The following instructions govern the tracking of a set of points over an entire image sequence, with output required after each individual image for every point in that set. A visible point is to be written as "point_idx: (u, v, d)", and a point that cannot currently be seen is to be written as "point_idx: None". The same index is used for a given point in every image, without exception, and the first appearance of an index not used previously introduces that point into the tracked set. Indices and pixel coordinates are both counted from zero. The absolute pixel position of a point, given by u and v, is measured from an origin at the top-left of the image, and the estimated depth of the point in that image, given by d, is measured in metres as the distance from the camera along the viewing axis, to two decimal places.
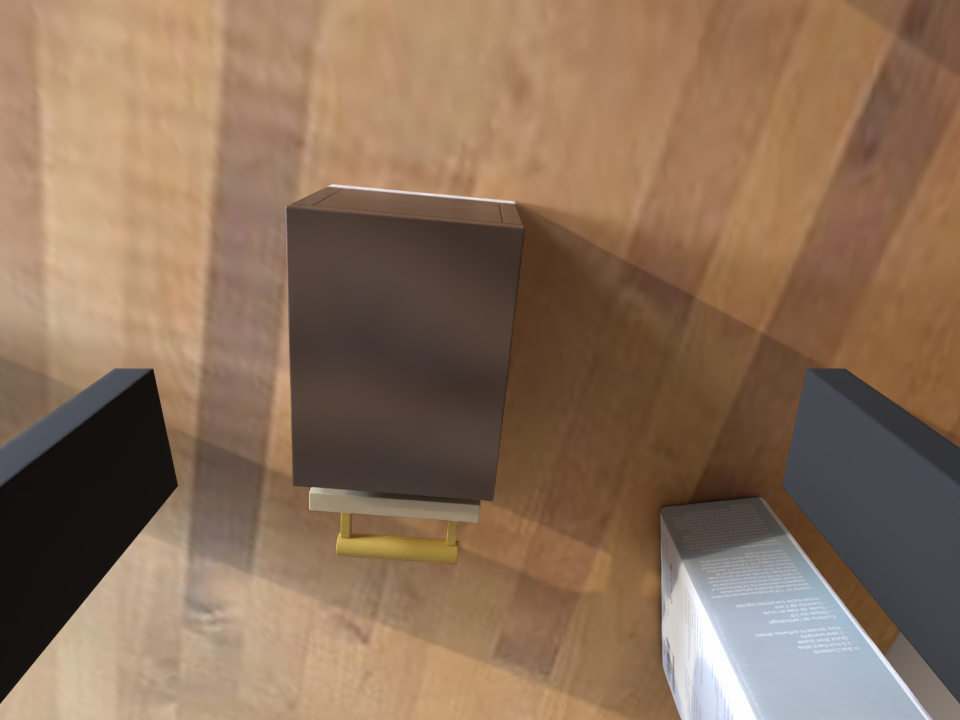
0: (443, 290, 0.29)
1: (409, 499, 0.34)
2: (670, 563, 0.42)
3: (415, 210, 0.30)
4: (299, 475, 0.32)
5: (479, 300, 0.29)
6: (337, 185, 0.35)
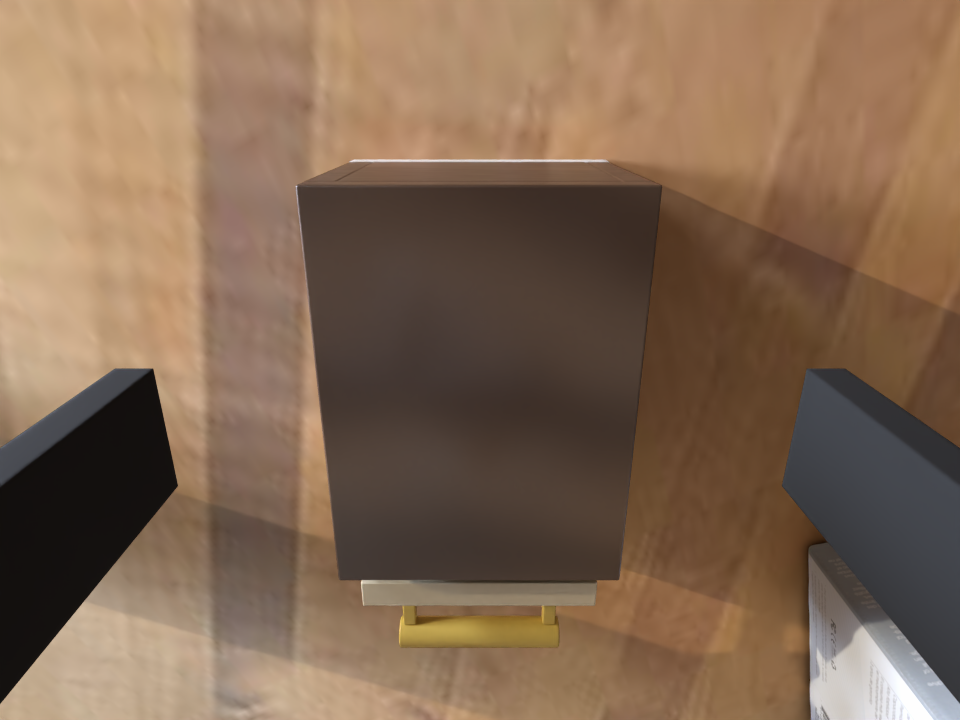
0: (539, 291, 0.19)
1: (499, 581, 0.25)
2: (832, 620, 0.32)
3: (485, 176, 0.20)
4: (346, 566, 0.23)
5: (594, 301, 0.19)
6: (362, 160, 0.26)
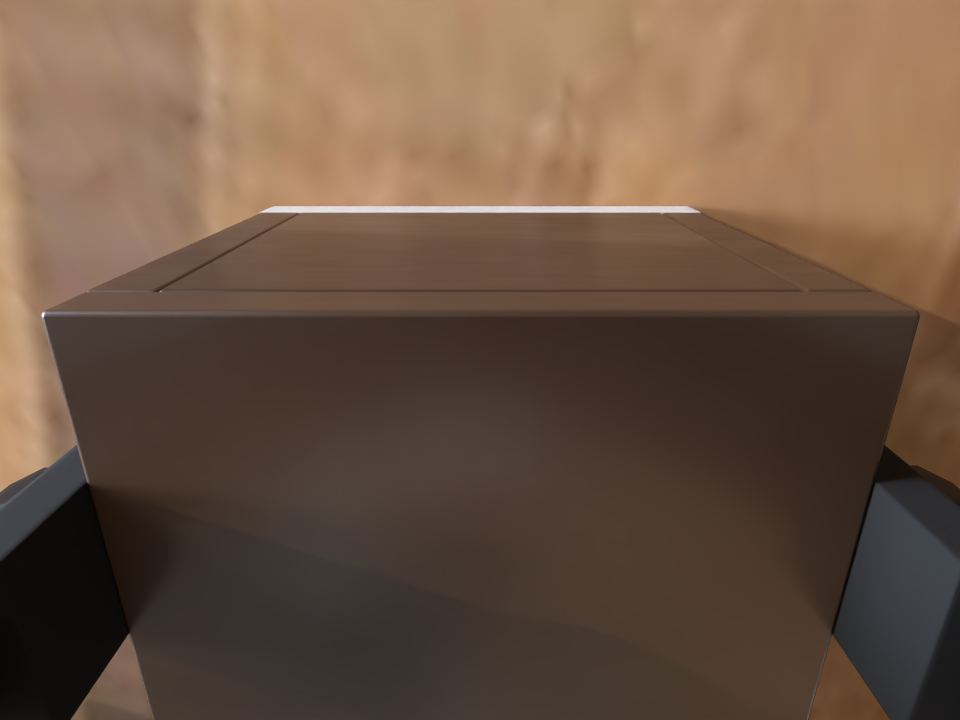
0: (615, 530, 0.09)
1: None
2: None
3: (494, 267, 0.10)
4: None
5: (735, 550, 0.09)
6: (286, 207, 0.16)
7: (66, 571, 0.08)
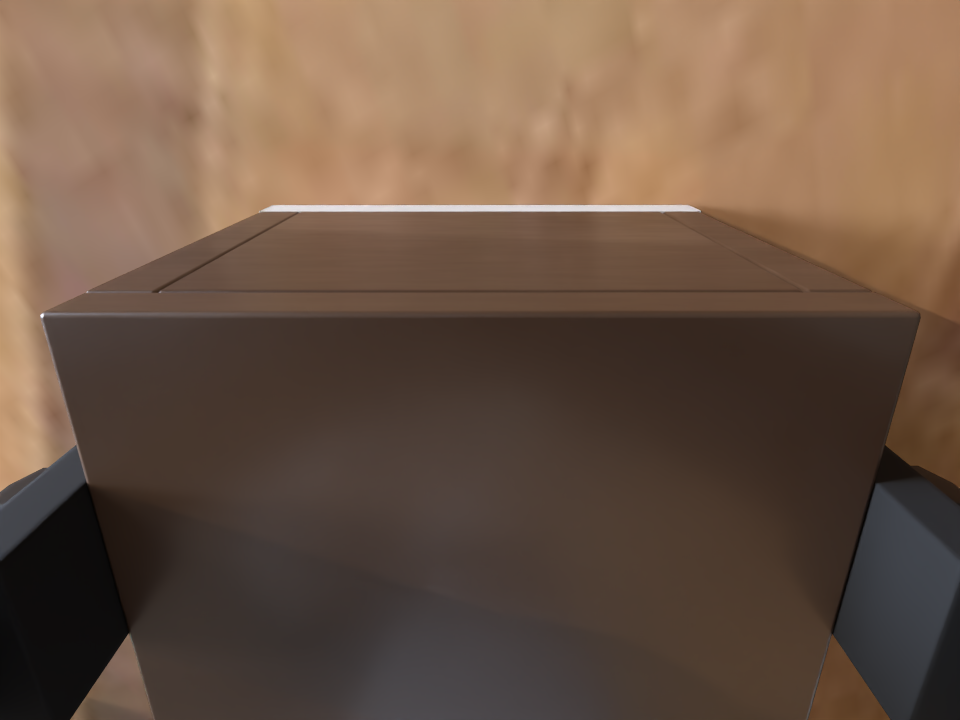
0: (615, 531, 0.09)
1: None
2: None
3: (494, 267, 0.10)
4: None
5: (736, 550, 0.09)
6: (286, 206, 0.16)
7: (66, 570, 0.08)
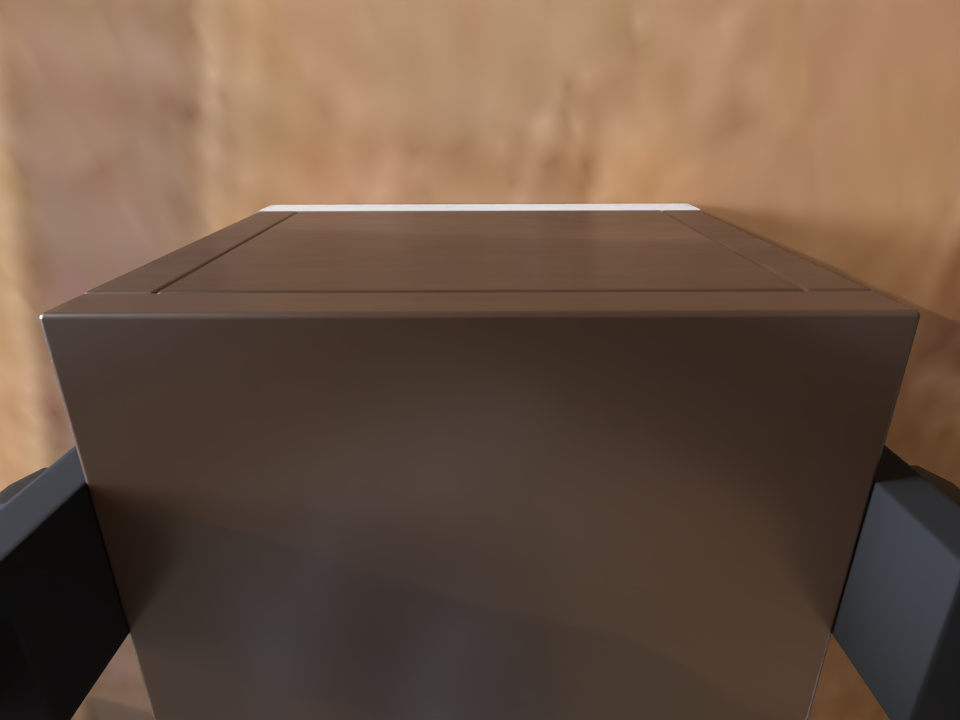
0: (615, 530, 0.09)
1: None
2: None
3: (493, 267, 0.10)
4: None
5: (735, 549, 0.09)
6: (285, 206, 0.16)
7: (66, 570, 0.08)
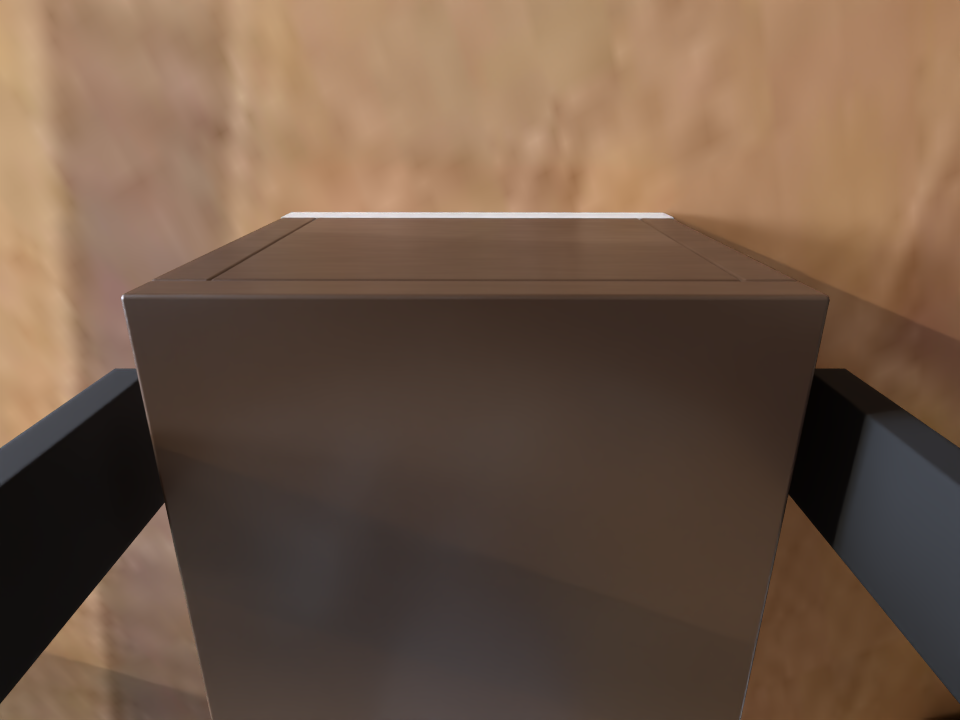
0: (587, 479, 0.10)
1: None
2: None
3: (487, 262, 0.11)
4: None
5: (688, 496, 0.10)
6: (304, 213, 0.17)
7: None
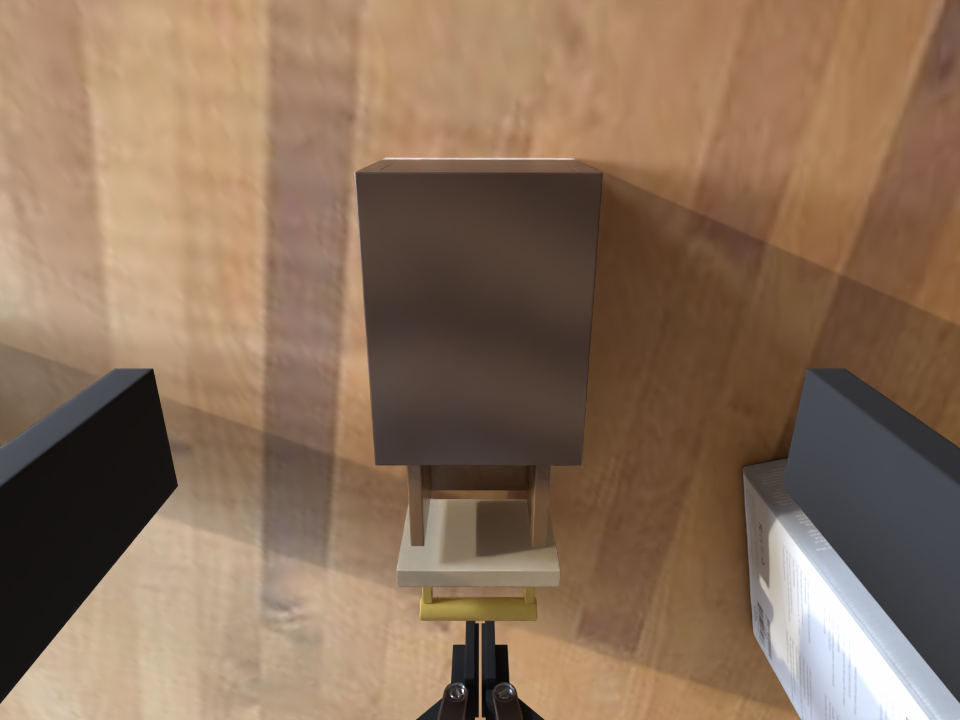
0: (520, 246, 0.28)
1: (492, 569, 0.36)
2: (759, 523, 0.41)
3: (483, 168, 0.29)
4: (381, 453, 0.32)
5: (558, 253, 0.28)
6: (391, 158, 0.35)
7: None
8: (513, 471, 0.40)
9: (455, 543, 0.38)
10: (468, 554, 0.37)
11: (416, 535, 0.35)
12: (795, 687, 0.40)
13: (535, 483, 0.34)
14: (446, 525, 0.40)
